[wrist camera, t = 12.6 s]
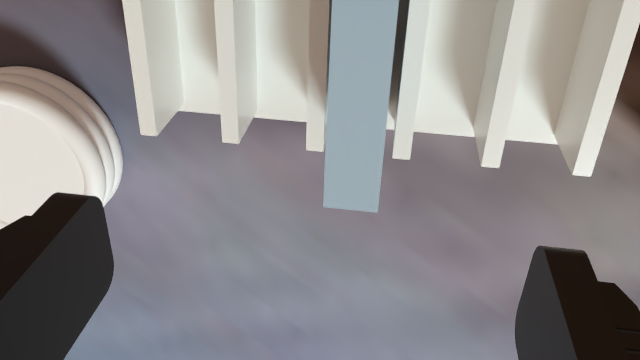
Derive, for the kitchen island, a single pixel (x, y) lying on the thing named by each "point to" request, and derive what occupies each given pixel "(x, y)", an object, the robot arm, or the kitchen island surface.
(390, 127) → the dish rack
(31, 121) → the coaster
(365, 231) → the kitchen island surface
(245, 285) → the kitchen island surface
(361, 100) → the grey board
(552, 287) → the robot arm
